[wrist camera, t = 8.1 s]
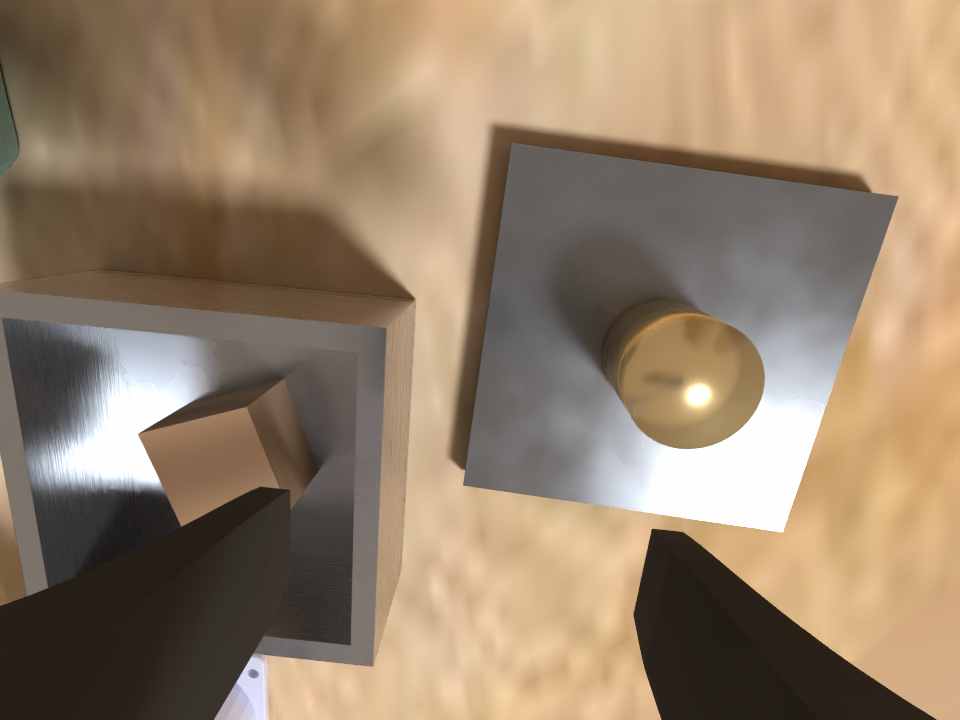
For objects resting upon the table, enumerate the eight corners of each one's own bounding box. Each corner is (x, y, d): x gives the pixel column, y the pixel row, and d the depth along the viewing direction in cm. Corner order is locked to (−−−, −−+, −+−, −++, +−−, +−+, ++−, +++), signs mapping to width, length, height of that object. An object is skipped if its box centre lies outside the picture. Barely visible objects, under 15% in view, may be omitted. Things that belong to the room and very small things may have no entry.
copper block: (319, 470, 21) (289, 511, 18) (228, 491, 21) (185, 534, 18) (284, 378, 20) (246, 407, 17) (189, 402, 20) (137, 433, 17)
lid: (765, 511, 21) (838, 596, 17) (465, 468, 22) (454, 539, 17) (869, 197, 18) (998, 192, 13) (511, 147, 18) (513, 124, 13)
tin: (401, 570, 23) (373, 666, 18) (132, 541, 23) (33, 629, 18) (415, 299, 19) (386, 327, 14) (101, 269, 19) (-31, 287, 15)
